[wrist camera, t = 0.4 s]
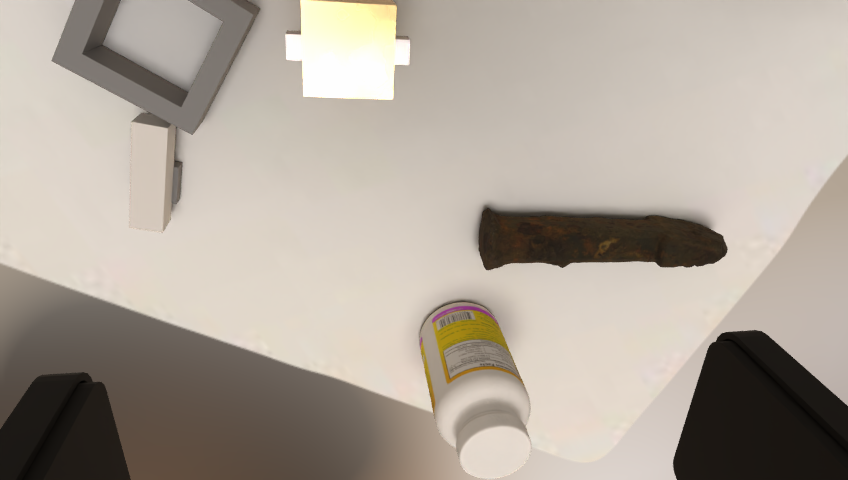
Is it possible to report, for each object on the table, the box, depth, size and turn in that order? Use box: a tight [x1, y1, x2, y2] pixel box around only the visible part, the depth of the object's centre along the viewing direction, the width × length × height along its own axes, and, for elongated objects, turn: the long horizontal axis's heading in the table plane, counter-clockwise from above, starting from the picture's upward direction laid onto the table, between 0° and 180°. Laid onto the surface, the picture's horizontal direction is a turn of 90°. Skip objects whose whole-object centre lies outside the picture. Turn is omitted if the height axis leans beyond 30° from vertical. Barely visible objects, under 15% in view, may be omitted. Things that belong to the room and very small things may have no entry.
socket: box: [52, 0, 260, 233], centre depth 33 cm, size 9×24×3 cm, turn 146°
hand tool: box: [479, 208, 727, 270], centre depth 43 cm, size 19×4×5 cm, turn 84°
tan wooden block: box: [285, 0, 410, 99], centre depth 32 cm, size 4×6×9 cm
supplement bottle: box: [419, 302, 531, 479], centre depth 42 cm, size 7×7×13 cm
